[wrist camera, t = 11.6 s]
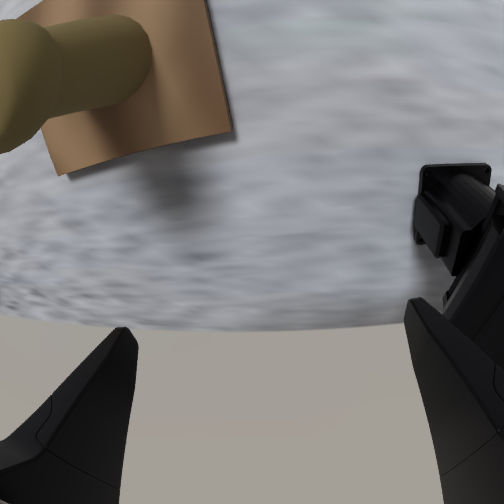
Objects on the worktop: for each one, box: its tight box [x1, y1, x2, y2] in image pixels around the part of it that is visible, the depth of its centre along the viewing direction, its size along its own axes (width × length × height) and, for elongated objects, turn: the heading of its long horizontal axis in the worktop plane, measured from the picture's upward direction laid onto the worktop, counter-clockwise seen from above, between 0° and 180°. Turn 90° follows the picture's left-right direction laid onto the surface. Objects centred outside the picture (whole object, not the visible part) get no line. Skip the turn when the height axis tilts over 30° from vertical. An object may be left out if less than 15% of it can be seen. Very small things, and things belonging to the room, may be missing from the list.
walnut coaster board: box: [17, 0, 233, 176], centre depth 15 cm, size 13×13×1 cm
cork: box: [0, 14, 152, 154], centre depth 10 cm, size 6×6×11 cm
